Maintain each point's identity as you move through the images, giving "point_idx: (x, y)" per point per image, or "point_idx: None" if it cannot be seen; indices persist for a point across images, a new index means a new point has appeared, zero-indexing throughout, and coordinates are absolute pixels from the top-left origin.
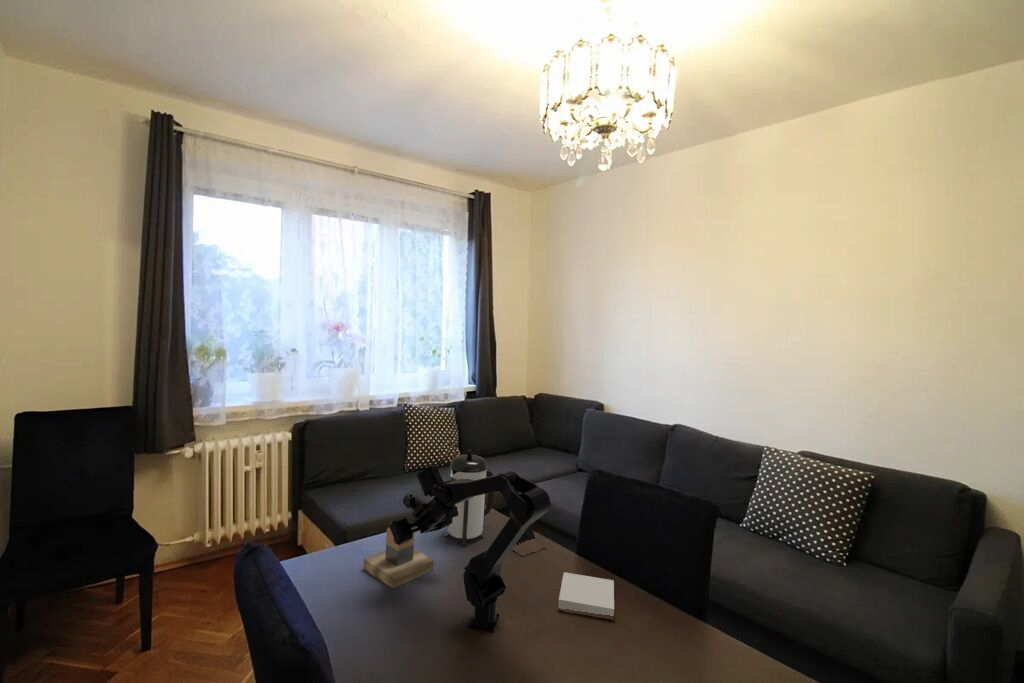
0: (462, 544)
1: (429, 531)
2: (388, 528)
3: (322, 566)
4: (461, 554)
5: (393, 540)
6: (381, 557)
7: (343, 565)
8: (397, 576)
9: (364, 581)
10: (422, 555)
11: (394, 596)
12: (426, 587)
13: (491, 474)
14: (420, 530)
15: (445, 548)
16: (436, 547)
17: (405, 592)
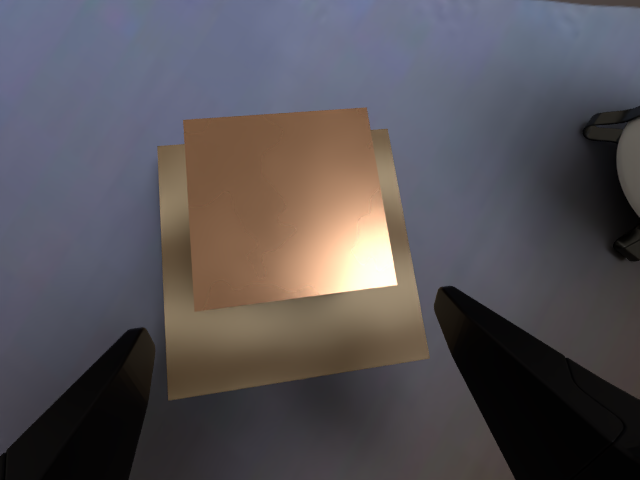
0: (621, 250)
1: (496, 440)
2: (196, 126)
3: (60, 52)
4: (578, 307)
5: (128, 335)
6: None
7: (129, 93)
8: (193, 395)
9: (125, 254)
10: (404, 284)
11: (157, 446)
12: (310, 466)
13: None
14: (443, 302)
15: (542, 221)
16: (513, 191)
17: (213, 446)
